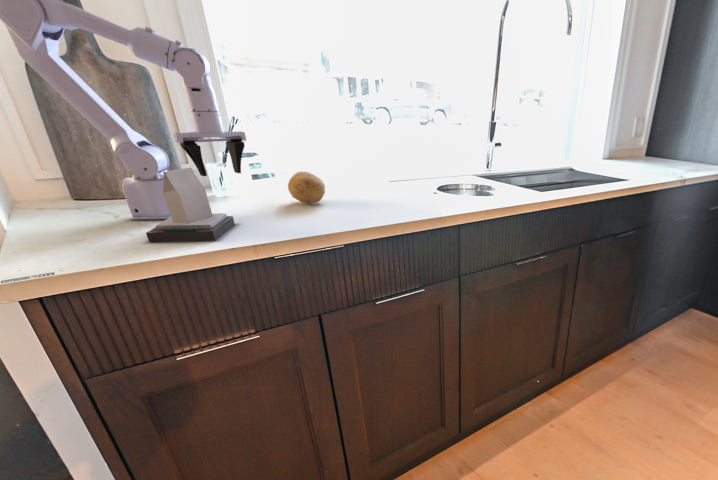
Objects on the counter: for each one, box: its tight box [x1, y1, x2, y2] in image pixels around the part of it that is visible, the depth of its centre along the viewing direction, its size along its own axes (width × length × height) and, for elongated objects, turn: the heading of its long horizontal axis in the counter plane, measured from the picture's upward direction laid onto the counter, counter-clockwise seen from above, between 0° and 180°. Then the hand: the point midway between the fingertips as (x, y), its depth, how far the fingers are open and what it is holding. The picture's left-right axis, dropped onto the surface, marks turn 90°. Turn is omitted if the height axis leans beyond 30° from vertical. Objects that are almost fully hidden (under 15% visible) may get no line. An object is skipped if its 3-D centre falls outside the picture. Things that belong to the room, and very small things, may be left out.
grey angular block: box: [163, 167, 213, 223], centre depth 89 cm, size 4×7×10 cm, turn 171°
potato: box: [287, 171, 326, 205], centre depth 119 cm, size 10×14×8 cm
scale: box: [145, 212, 236, 243], centre depth 92 cm, size 12×13×3 cm
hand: (221, 174), depth 103 cm, fingers open, 7 cm apart
